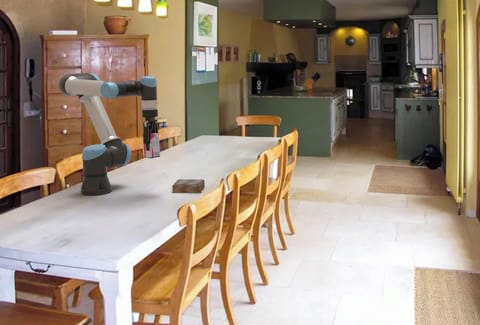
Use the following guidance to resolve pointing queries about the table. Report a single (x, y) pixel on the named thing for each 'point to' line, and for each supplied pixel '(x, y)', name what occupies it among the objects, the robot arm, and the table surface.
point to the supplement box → (153, 146)
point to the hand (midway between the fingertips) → (152, 155)
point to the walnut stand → (188, 186)
